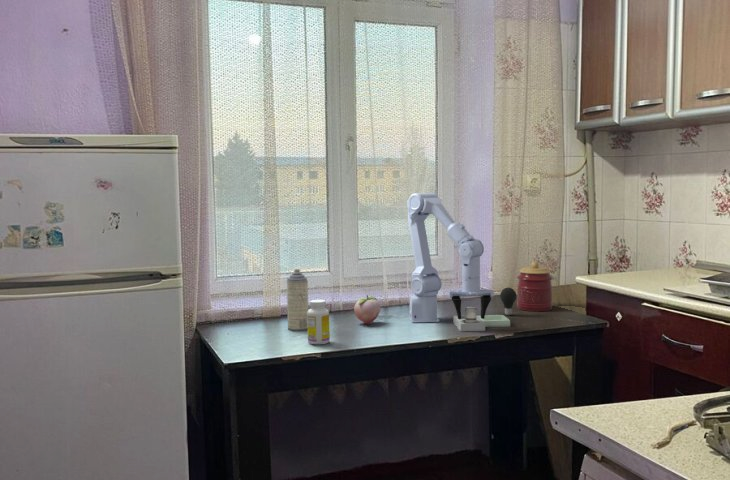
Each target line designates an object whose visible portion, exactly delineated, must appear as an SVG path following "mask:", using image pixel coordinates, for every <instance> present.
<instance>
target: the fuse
mask: <svg viewBox="0 0 730 480" xmlns="http://www.w3.org/2000/svg"><path fill="white" fill-rule="evenodd" d="M464 310H465V312H464V313H465V314H464V315H465V323H476V319H477V317H476V315H477V311H478V310H477V307H476V306H466V307H465V306H464Z"/></svg>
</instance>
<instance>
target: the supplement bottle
mask: <svg viewBox="0 0 730 480" xmlns="http://www.w3.org/2000/svg"><path fill="white" fill-rule="evenodd" d="M326 301H327V300H325V299H312V300H310V301H309V306H310V309H309V308H308V312H307V325H308V330H307V341H308V343H309V344H310V345H316V346H317V345H326V344H328V343H330V339H331V338H330V336H331V335H330V311H329V310H328V308H326V305H327V304H326Z"/></svg>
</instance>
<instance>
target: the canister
mask: <svg viewBox="0 0 730 480" xmlns="http://www.w3.org/2000/svg"><path fill="white" fill-rule="evenodd" d="M519 272H520V274H518V275H517V276H516V278H517V279H518V281H517V282H518V284H517V285H516V287H517V291H516V299H517V300H516V306H517V307H516V308H517V309H518V310H522V311H527V312H546V311H551V310H552V309H553V288H554V287H553V284H552V280H553V279H554V277H553V276H552V275H551V270H550V269H548V268H547V267H545V266H540V264H539V263H538V261H532V263H531V266H524V267H523V268H521V269H520V270H519Z"/></svg>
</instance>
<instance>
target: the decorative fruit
mask: <svg viewBox="0 0 730 480" xmlns="http://www.w3.org/2000/svg"><path fill="white" fill-rule="evenodd" d="M353 309H354V314H355V316H356V317H357V319H358V320H359V321H361V322H362V323H364V324H366V325H369V324H371V323H373V322H375V320H376V319H377V318H378V316H379V314H380V313H381V305H380V303H379V302H378V299H377V298H376V297H374V296H368V294H367V295H366V297H365V298H360V299H359V300H357V302H355V304H354V308H353Z"/></svg>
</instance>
